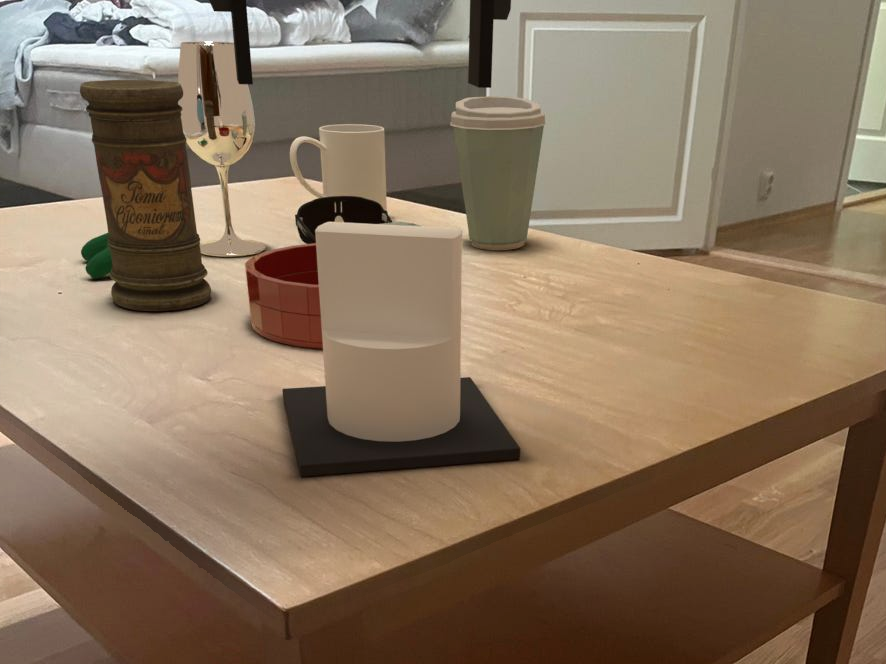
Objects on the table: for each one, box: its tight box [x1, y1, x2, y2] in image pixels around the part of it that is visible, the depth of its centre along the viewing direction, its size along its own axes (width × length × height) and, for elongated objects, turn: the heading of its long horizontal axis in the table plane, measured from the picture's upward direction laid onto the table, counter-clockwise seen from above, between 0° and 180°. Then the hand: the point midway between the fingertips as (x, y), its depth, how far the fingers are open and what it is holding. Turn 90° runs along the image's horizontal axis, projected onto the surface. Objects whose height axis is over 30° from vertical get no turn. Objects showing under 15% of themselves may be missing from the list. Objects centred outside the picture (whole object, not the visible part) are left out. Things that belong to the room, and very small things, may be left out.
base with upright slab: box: [315, 222, 463, 442], centre depth 65 cm, size 9×9×12 cm
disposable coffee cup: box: [449, 95, 547, 251], centre depth 113 cm, size 11×11×15 cm
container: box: [79, 79, 212, 312], centre depth 90 cm, size 9×9×18 cm
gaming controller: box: [80, 232, 113, 280], centre depth 103 cm, size 9×4×6 cm
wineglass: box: [177, 41, 266, 258], centre depth 107 cm, size 8×8×20 cm
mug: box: [289, 123, 388, 222], centre depth 124 cm, size 12×8×10 cm, turn 123°
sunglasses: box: [294, 196, 393, 244], centre depth 111 cm, size 10×12×5 cm
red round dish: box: [244, 243, 323, 350], centre depth 88 cm, size 17×17×5 cm
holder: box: [281, 376, 521, 477], centre depth 68 cm, size 14×14×1 cm
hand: (365, 84), depth 58 cm, fingers open, 13 cm apart
